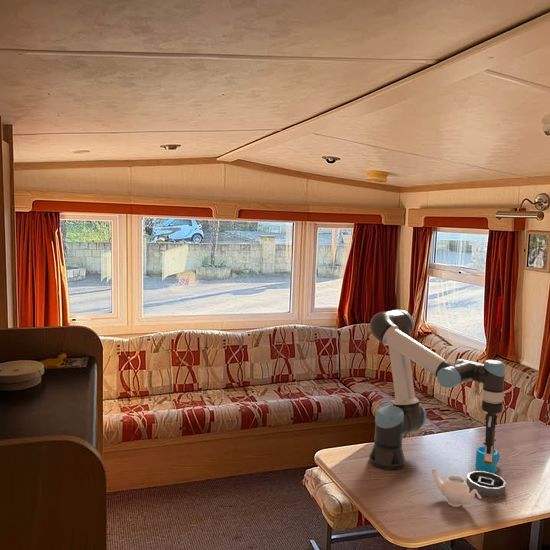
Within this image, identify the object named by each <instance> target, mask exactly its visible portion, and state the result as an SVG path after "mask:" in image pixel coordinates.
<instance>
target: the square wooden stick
mask: <svg viewBox="0 0 550 550" xmlns="http://www.w3.org/2000/svg"><path fill="white" fill-rule="evenodd" d="M495 439H496V429H495V430H494V432H493V455H492V462H490V461H485V460H484V464H488V465H493V457H494V450H495V442H496V441H495ZM484 459H485V457H484Z"/></svg>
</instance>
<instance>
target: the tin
mask: <svg viewBox="0 0 550 550" xmlns="http://www.w3.org/2000/svg"><path fill="white" fill-rule="evenodd" d="M466 483H467V485H468V487H469V491H470V492H471V491H472V490H473V489H476V490H477V492H478V493H479V495H480V496H481V497H485V498H486V497H487V498H500V497H502V496H505V493H506V486H507V481H506V480H505V479H504V478H503V477H502V476H500V475H497V474H496V473H489V472H485V471H478V470H474V471H471V472H468V473H467V476H466Z"/></svg>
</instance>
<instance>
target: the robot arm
mask: <svg viewBox="0 0 550 550" xmlns="http://www.w3.org/2000/svg"><path fill="white" fill-rule="evenodd" d="M414 322H415V321H414V318H413V317H412V315H411V314H410V313H409V311H406V310H403V309H392V310H386V311H379V312H377V313H376V314H374V315H373V316H372V318H371V319H370V322H369V330H370V333H371V335H372V336H373V337H374V338H375V340H377V341H378V342H380V343H381V344H383V345H384V346H388V351H389V358H390V365H391V366H390V367H391V373H392V383H393V389H394V397H395V398H394V400H393V401H392V405H388V406H387V405H385V406H382V407H379V408H378V409H377V411H376V412H375V418H374V442H373V446H372V448H371V451H370V453H369V456H368V458H369V459H368V462H369V463H370V465H371V466H373V467H374V468H377V469H378V470H379V469H380V470H383V471H392V472H393V471H399V470H400V471H401V470H402V469H404V468H405V466H406V459H405V458H406V457H405V454H404V450H403V436H407V435H409V434H411V433H414V432H417V431H419V430H420V429H421V428H423V427H424V426H425V423H426V420H427V413H426V409H425V408H424V407H423V405H422V404H421V403H420V400H419V398H417V397H416V394H415V393H416V392H415V387H414V379H413V370H412V363H411V362H412V361H413V362H414V363H416V364H417V365H419V366H420V367H422V368H423V369H424V370H426V371H428V372H429V373H430V374H431V375H433V376H435V377H436V380H437V382H438V383H439V385H440V386H441V387H444V388H447V389H449V388H455V387H457V386H458V385H462V384H465V383H469V382H476V383H480V384H482V389H481V391H482V392H481V393H482V394H481V399H482V400H481V409H482V411H484V412H486V414H485V419H484V420H485V439H484V442H483V445H484V447H485V459H484V460H485V461H490V462H492V455H493V432H494V430H495V431H496V426H497V420H498V414H501V413H503V410H504V409H503V405H504V403H503V401H504V397H506V394H505V393H504V390H505V389H504V388H505V378H506V371H505V370H506V368H505V367H506V365H505V363H504V362H502V361H501V360H494V359H486V360H485V361H484V362H483V363H481V362H476V361H474V360H473V361H472V360H468V359H463V358H458V359H456V361H455V362H453V363H451V362H449V361H448V360H446V359H445V358H443V357H442V356H440V355H439V354H437V353H435V352H434V351H432V350H431V349H429V348H428V347H426V346H425V345H423V344H421V343H420V342H418V341H417V340H415V339H414V338H412V337H411V334H412V331H413V329H414V327H415V323H414ZM496 441H497V439H496V438H495V441H494V442H496Z"/></svg>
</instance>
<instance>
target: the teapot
mask: <svg viewBox="0 0 550 550" xmlns="http://www.w3.org/2000/svg"><path fill="white" fill-rule="evenodd" d="M431 474H432V476H433V480H434V482H435V484H436V487H437V488H438V490H439V492H440V493H441V494H442V496H444V497H445V498H446V499H447V504H448V505H449V506H451V507H453V508H456V507H457V508H459V507H461V506H462V505H464V506H465V505H468V504H470V503H471V502H472V501H474V499H475V497H476V496H477V498H479V499H482V495H479V493H478V492H477V490H476V489H473V490H472V491H471V490H470V489H469V487H468V485H467V480H465V479H464V478H462V477H460V476H455V475H450V476H448V477H446V478H445V479H444V481H443V480H442V479H441V478H440V476H439V474H438V471H437V470H436V469H432V470H431ZM475 495H476V496H475Z"/></svg>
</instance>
